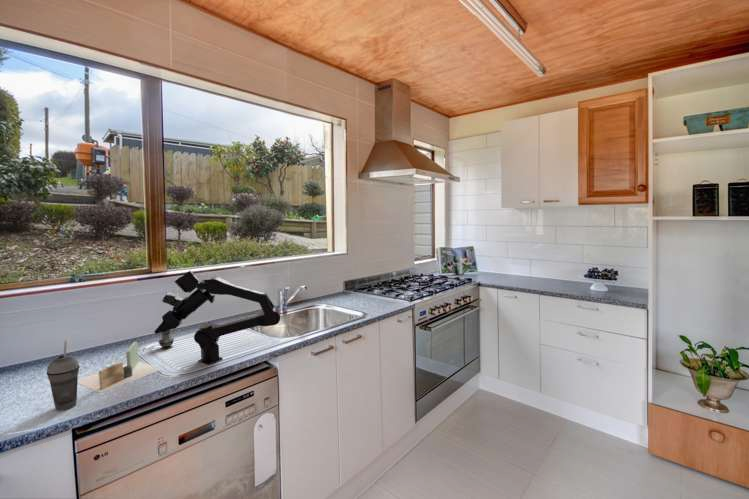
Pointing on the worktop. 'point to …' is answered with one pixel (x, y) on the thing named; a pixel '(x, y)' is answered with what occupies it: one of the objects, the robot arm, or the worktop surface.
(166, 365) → the worktop surface
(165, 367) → the worktop surface
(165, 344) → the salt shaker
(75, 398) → the beverage cup
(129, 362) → the fence panel
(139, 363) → the card
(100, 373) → the tan dark-tipped bar
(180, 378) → the worktop surface
